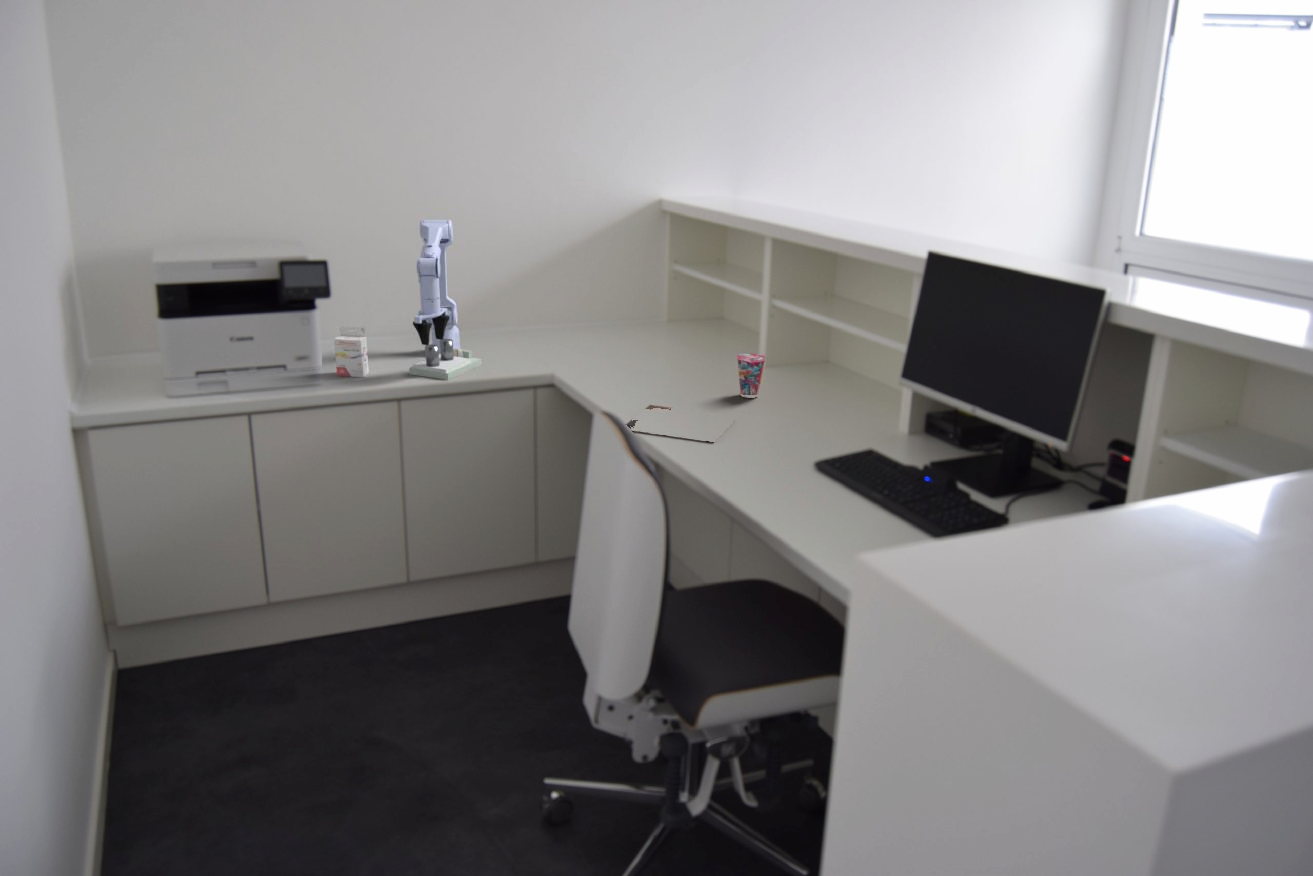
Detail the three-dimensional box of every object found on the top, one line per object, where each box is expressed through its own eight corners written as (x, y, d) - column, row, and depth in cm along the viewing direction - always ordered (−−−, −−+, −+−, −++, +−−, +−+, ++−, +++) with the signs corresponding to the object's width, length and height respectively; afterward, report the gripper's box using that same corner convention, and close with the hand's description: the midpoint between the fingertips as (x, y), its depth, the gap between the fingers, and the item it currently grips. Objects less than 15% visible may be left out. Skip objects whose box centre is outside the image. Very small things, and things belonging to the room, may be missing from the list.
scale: (444, 359, 324) (443, 344, 323) (481, 364, 319) (480, 349, 318) (409, 374, 308) (408, 358, 306) (448, 379, 303) (447, 364, 301)
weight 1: (430, 362, 309) (429, 343, 307) (442, 363, 308) (440, 345, 306) (423, 366, 306) (422, 347, 304) (435, 367, 305) (433, 348, 303)
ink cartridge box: (336, 376, 304) (332, 329, 299) (342, 371, 309) (338, 325, 304) (363, 377, 303) (359, 330, 298) (369, 373, 308) (366, 326, 303)
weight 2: (443, 356, 316) (443, 338, 314) (455, 357, 315) (454, 339, 313) (438, 360, 313) (437, 341, 311) (450, 361, 312) (449, 342, 310)
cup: (729, 393, 296) (731, 354, 292) (755, 390, 299) (757, 352, 295) (744, 402, 288) (746, 362, 284) (770, 399, 291) (772, 360, 287)
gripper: (432, 292, 308) (435, 335, 312) (404, 300, 295) (407, 345, 300) (452, 294, 305) (454, 337, 310) (424, 303, 292) (427, 348, 297)
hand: (432, 341), depth 304 cm, fingers open, 7 cm apart
